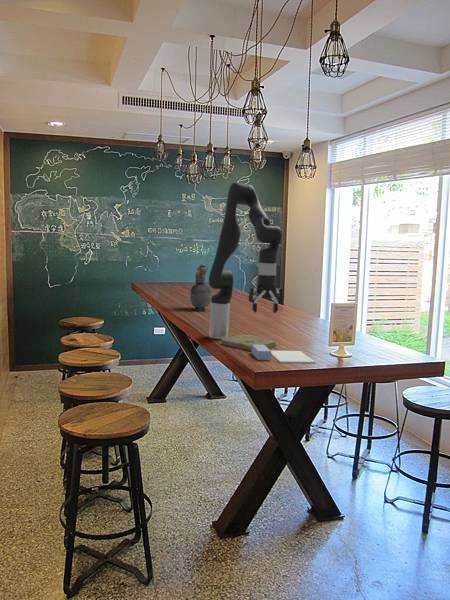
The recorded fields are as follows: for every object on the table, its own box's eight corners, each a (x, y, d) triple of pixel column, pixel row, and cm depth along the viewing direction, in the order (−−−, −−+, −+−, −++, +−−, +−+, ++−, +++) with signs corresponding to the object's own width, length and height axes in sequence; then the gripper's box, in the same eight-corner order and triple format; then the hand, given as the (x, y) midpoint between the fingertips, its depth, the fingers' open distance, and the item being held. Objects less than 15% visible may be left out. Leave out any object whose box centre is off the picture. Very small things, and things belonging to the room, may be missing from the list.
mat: (268, 351, 234) (268, 350, 234) (300, 352, 237) (300, 351, 237) (280, 362, 216) (280, 361, 216) (315, 363, 218) (315, 361, 218)
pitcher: (195, 311, 334) (197, 264, 330) (186, 307, 352) (189, 262, 348) (211, 311, 338) (214, 265, 334) (202, 307, 355) (204, 262, 351)
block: (251, 353, 230) (252, 344, 230) (263, 353, 231) (264, 344, 231) (257, 360, 219) (258, 351, 218) (270, 360, 219) (271, 351, 219)
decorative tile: (255, 353, 232) (255, 345, 231) (220, 345, 244) (220, 337, 244) (278, 347, 246) (279, 340, 246) (244, 340, 259) (245, 333, 258)
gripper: (280, 273, 226) (278, 311, 227) (248, 272, 223) (246, 310, 225) (286, 275, 218) (283, 314, 220) (252, 274, 215) (250, 313, 217)
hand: (264, 312), depth 222 cm, fingers open, 8 cm apart
